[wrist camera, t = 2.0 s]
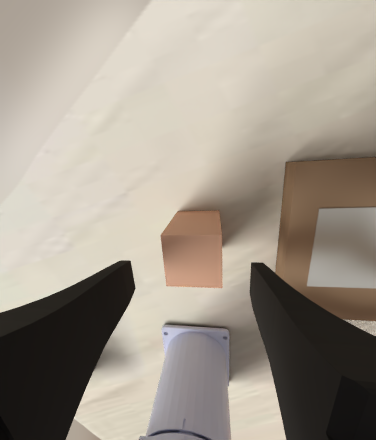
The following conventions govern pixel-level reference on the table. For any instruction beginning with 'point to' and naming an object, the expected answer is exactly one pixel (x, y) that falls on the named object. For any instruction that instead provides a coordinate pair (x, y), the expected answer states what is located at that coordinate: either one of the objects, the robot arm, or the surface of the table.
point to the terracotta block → (193, 250)
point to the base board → (330, 234)
